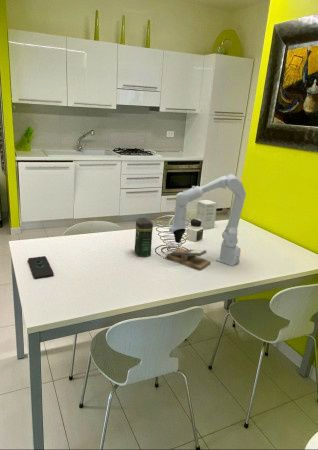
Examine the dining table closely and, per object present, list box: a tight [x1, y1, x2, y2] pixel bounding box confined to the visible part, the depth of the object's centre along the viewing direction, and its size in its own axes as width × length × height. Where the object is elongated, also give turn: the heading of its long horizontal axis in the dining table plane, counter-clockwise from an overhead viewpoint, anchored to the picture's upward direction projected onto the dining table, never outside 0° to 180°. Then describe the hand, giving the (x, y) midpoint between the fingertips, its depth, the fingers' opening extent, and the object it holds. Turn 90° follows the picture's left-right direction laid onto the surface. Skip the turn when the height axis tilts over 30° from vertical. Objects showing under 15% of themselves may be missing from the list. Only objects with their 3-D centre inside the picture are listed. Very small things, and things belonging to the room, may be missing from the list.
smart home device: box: [27, 255, 55, 280], centre depth 154 cm, size 8×2×20 cm
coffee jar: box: [134, 217, 154, 258], centre depth 174 cm, size 10×8×19 cm
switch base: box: [165, 252, 211, 271], centre depth 171 cm, size 20×10×5 cm, turn 53°
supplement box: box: [195, 199, 218, 230], centre depth 222 cm, size 10×9×17 cm
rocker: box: [170, 249, 207, 257], centre depth 170 cm, size 17×6×2 cm, turn 53°
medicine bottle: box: [186, 218, 204, 243], centre depth 200 cm, size 7×7×12 cm
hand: (177, 242), depth 173 cm, fingers closed
